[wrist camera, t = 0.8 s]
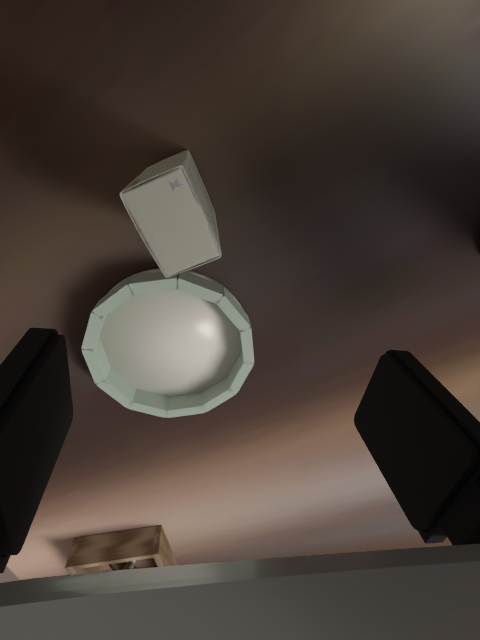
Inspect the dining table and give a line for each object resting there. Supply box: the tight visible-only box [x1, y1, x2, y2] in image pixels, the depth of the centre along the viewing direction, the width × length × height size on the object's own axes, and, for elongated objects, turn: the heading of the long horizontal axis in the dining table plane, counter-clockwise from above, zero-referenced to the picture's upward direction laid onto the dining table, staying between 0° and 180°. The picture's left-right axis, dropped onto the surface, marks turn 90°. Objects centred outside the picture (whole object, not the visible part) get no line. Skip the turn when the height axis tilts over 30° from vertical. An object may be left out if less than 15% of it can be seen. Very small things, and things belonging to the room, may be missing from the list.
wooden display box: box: [65, 525, 177, 575], centre depth 59 cm, size 15×15×4 cm
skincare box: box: [120, 150, 221, 278], centre depth 26 cm, size 6×4×12 cm
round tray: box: [81, 268, 254, 418], centre depth 38 cm, size 18×18×3 cm
